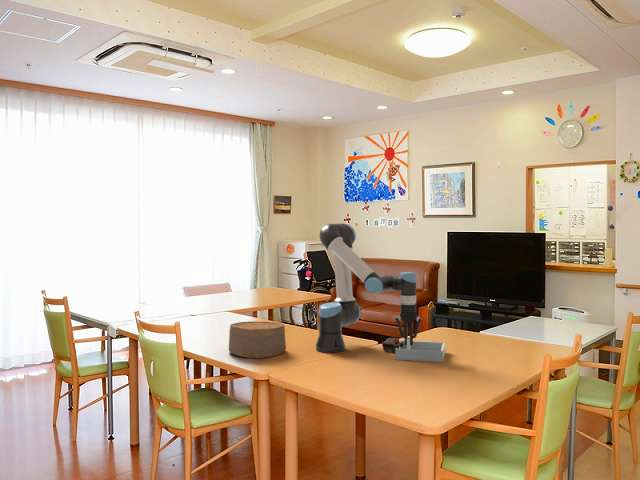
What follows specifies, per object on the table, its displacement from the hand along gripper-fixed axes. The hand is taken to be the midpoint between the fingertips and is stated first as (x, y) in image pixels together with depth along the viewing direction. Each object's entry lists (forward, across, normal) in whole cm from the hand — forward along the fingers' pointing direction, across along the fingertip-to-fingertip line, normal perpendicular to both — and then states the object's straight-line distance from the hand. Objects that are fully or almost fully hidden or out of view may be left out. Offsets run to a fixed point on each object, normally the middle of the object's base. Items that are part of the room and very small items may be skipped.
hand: (408, 351), depth 266 cm
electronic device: (-2, -9, +2) cm, 9 cm away
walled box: (+2, +6, 0) cm, 6 cm away
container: (+2, -74, -14) cm, 76 cm away
